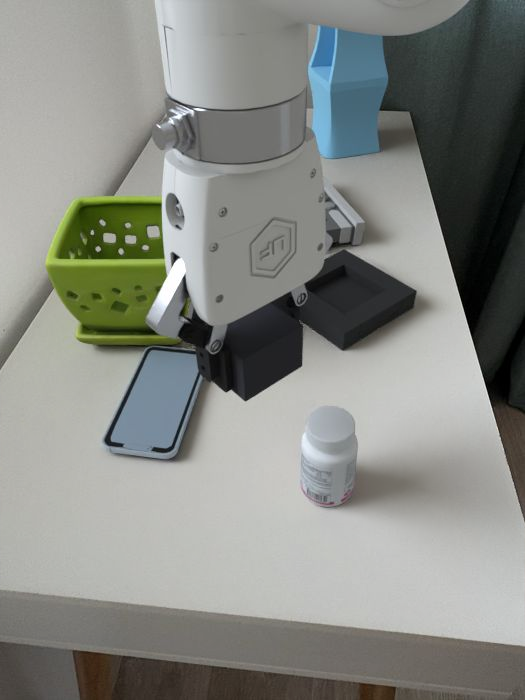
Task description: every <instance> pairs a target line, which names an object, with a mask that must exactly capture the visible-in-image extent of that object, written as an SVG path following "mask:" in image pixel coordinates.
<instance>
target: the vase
mask: <svg viewBox="0 0 525 700" xmlns="http://www.w3.org/2000/svg"><path fill="white" fill-rule="evenodd" d="M307 76H308V80H309V84H310V90H311V98H312V107H313V108H312V109H313V112H312V113H313V114H312V124H311V129H312V130H313V131H314V133H315V136H316V140H317V144H318V148H319V153H320V155H321V156H322V157H323V158H326V159H330V160H334V159H342V158H344V159H345V158H349V157H354V156H355V157H356V156H361V155H368V154H373V153H380V152H381V149H380V142H379V134H378V133H379V131H378V124H379V123H378V122H379V115H380V109H381V105H382V102H383V98H384V96H385V93H386V90H387V87H388V83H389V74H388V70H387V65H386V60H385V53H384V37H383V36H382V35H372V34H364V33H357V32H352V31H346V30H341V29H336V28H330V27H325V26H319V25H317V34H316V40H315V45H314V48H313V52H312V54H311V57H310V60H309V62H308V69H307Z"/></svg>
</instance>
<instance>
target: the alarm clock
mask: <svg viewBox="0 0 525 700" xmlns="http://www.w3.org/2000/svg"><path fill="white" fill-rule="evenodd" d="M323 181H324V192H325V214H326V232H327V233H328V234H329V235H330V236H331V237H332V238H333V242H332V244H333V243H339V244H344V243H345V244H347V243H350V244H351V245H352V246H361V245H362V241H363V236H364V230H365V226H366V221H365V220H364V219H363V218H362V217H361V216H360V215H359V214H358V212H357V211H356V210H355V209H354V208H353V207H352V206H351V204H349V202H348V201H347V200H346V199H345V198H344V197H343V196H342V195H341V194H340V193H339V191H338V190H337V189H336V188H335V186H334V185H332V183H331V182H330V181H329V180H328V179H327V178H326V177H325V176H324V175H323Z"/></svg>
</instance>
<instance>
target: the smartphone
mask: <svg viewBox="0 0 525 700" xmlns="http://www.w3.org/2000/svg"><path fill="white" fill-rule="evenodd" d="M203 380H204V378H203V377H202V376H201V374H200V373H199V370H198V366H197V358H196V350H195V349H191V348H181V347H171V346H163V345H149V346H148V347H146V348H145V349H144V351H143V352H142V355H141V357H140V359H139V360H138V363H137V365H136V367H135V369H134V371H133V374H132V375H131V378H130V380H129V382H128V384H127V386H126V388H125V390H124V392H123V393H122V396H121V398H120V401H119V403H118V405H117V407H116V410H114V413H113V415H112V418H111V420H110V421H109V424H108V426H107V428H106V430H105V431H104V434H103V436H102V438H101V444H102V447H103V450H105V451H106V452H108V453H113V454H120V455H129V456H137V457H145V458H152V459H153V458H154V459H159V460H160V459H161V460H169V459H171V458H173V457H175V456H176V455H177V454H178V451H179V449H180V446H181V444H182V440H183V438H184V434H185V431H186V429H187V427H188V426H187V425H188V423H189V420H190V417H191V414H192V412H193V408H194V407H195V403H196V400H197V398H198V394H199V392H200V389H201V386H202V383H203Z"/></svg>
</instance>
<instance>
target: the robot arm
mask: <svg viewBox="0 0 525 700" xmlns="http://www.w3.org/2000/svg"><path fill="white" fill-rule="evenodd" d="M469 2H470V0H154V6H155V7H154V8H155V14H156V15H155V17H156V24H157V32H158V38H159V46H160V47H159V48H160V54H161V62H162V70H163V78H164V86H165V94H166V95H165V96H166V97H165V98H164V104H165V113H166V116H165V117H164V118H163V119H162V121H160V122H157V123H153V124H152V125H151V128H150V133H151V138H152V141H153V143H154V145H155V146H156V147H157V149H159V150H160V151H165V150H167V151H166V152H165V153H164V160H163V161H164V162H163V170H162V185H161V196H162V231H163V246H164V256H165V265H166V272H167V278H166V280H165V282H164V284H163V286H162V288H161V290H160V292H159V294H158V295H157V297H156V299H155V301H154V303H153V305H152V307H151V309H150V311H149V313H148V314H147V316H146V319H145V322H146V324H147V325H148V326H149V327H150V328H151V329H152V330H154V331H155V332H156V333H157V334H159V335H162V336H166V337H170V338H174V339H176V338H177V339H181V341H183V342H184V343H186V344H189V345H191V346H194V350H196V358H197V366H198V370H199V373H200V374H201V376H202V377H203V380H205V381H206V382H208V383H211V382H212V383H213V384H215V385H216V386H217V387H218V388H219V389H221V391H222V392H224V393H228V392H230V391H232V389H233V374H232V361H231V348H230V347H229V346H228V345H227V344H226V343H224V339H225V335H226V331H227V326H228V324H229V323H231V322H233V321H235V320H237V319H240V318H242V317H243V316H245V315H247V314H249V313H251V312H253V311H255V310H257V309H259V308H260V307H262V306H264V305H266V304H268V303H272V304H273V305H275V306H276V307H278V308H279V309H281V310H282V311H284V312H285V313H287V314H288V315H289V316H291V317H292V318H294V319H295V320H297V321H298V322H300V320H299V319H300V309H299V306H301V305H303V304H304V303H305V301H306V300H307V296H308V294H307V291H306V288H307V286H308V285H309V283H310V281H311V280H312V278H313V277H315V276H316V275H317V274H318V273H319V272H320V270H321V269H322V267H323V264H324V259H326V255H327V252H328V251H329V249H330V248H331V247H332V245H333V243H334V242H333V238H332V237H331V236H330V235H329V234H328V233H327V232H326V214H325V192H324V181H323V176H324V172H323V164H322V159H321V153H320V152H319V148H318V144H317V140H316V136H315V133H314V131H313V130H312V128H310V127H308V126H307V115H308V114H307V110H308V107H307V106H308V105H307V104H308V65H309V62H308V61H309V25H313V26H318V25H319V26H325V27H330V28H336V29H341V30H346V31H352V32H357V33H364V34H372V35H382V36H384V37H395V36H397V37H399V36H408V35H413V34H418V33H421V32H424V31H427V30H429V29H431V28H434V27H437V26H438V25H440V24H442V23H444V22H446V21H447V20H449V19H451V18H452V17H453V16H454V15H456V14H457V13H458V12H459V11H460V10H461V9H463V8H464V7H465V6H466V5H467V4H468V3H469ZM168 149H169V150H168ZM332 242H333V243H332ZM188 297H190V302H189V308H188V314H187V317H185V316H182V315H179V314H180V312H181V310H182V308H183V306H184V304H185V303H186V301H187V299H188ZM205 322H207V323H208V324H209V325H205Z"/></svg>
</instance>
